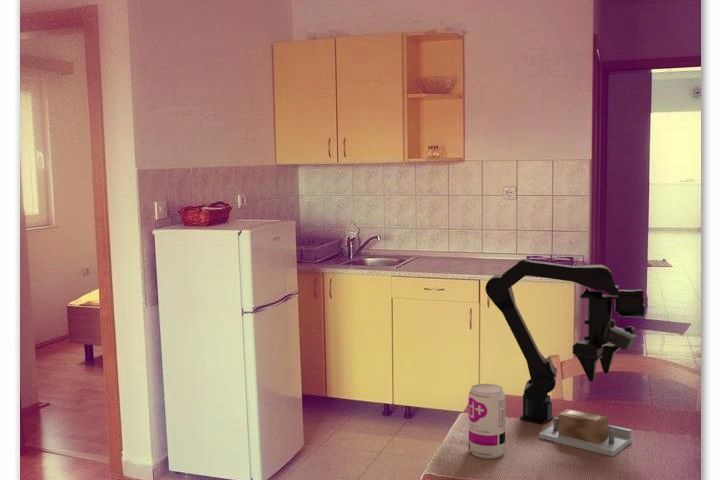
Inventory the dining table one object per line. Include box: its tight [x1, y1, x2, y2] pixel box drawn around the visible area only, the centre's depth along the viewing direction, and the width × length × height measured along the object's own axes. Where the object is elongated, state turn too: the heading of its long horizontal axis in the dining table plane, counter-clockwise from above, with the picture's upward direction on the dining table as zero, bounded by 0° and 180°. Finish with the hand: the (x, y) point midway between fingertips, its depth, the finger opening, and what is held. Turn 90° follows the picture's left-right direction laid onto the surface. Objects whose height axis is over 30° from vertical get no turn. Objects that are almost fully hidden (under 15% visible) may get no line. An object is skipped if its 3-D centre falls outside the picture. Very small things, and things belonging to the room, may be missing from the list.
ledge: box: [538, 414, 633, 457], centre depth 167 cm, size 18×11×4 cm, turn 49°
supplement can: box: [468, 383, 506, 460], centre depth 160 cm, size 8×8×15 cm
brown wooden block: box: [557, 408, 609, 444], centre depth 166 cm, size 10×5×5 cm, turn 49°
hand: (598, 377), depth 177 cm, fingers open, 9 cm apart
